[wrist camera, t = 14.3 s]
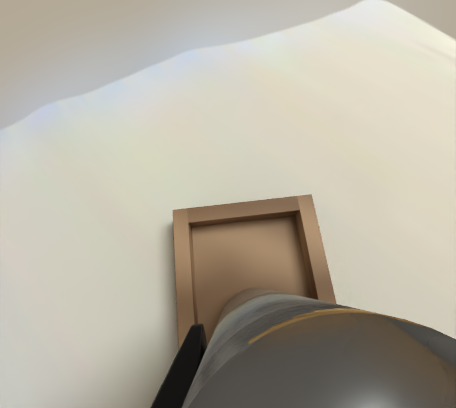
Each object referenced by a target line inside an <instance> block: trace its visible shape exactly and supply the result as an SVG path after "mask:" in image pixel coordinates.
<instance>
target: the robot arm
mask: <svg viewBox="0 0 456 408" xmlns="http://www.w3.org/2000/svg"><path fill="white" fill-rule="evenodd" d="M347 307H348V306H347ZM206 349H207V339H206V334H205V329H204V325H203V324H193V325H192V326H191V327H190V329H189V331H188V333H187V335H186V337H185V339H184V341H183V343H182V345H181V347H180V349H179V351H178V353H177V355H176V357H175V359H174V361H173V363H172V365H171V367H170V369H169V371H168V373H167V375H166V377H165V379H164V381H163V384H162V386H161V388H160V390H159V392H158V394H157V396H156V398H155V400H154V402H153V404H152V406H151V408H182V406H183V404H184V401H185V399H186V396H187V394H188V392H189V389H190V387H191V385H192V382H193V380H194V377H195V375H196V373H197V370H198V368H199V366H200V363H201V361H202V358H203V356H204V354H205V351H206Z"/></svg>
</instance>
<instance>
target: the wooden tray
mask: <svg viewBox="0 0 456 408" xmlns="http://www.w3.org/2000/svg"><path fill="white" fill-rule="evenodd" d="M173 228H174V251H175V274H176V297H177V320H178V343H179V349H180V347H181V345H182V343H183V341H184V339H185V337H186V335H187V333H188V331H189V329H190V327H191V326H192V325H193V324H203V325H204V329H205V334H206V339H207V347H208V344H209V342H210V339H211V337H212V335H213V332H214V330H215V328H216V325H217V323H218V320H219V318H220V316H221V313H222V311H223V309H224V307H225V305H226V304H227V303H228V301H229V300H230V299H231V298H232V297H233V296H234V295H236V294H237V293H239V292H241V291H243V290H245V289H249V288H255V287H259V288H266V289H271V290H275V291H280V292H284V293H289V294H293V295H298V296H302V297H306V298H311V299H315V300H320V301H324V302H329V303H333V304H336V300H335V296H334V291H333V287H332V282H331V278H330V274H329V269H328V265H327V260H326V256H325V252H324V247H323V243H322V238H321V234H320V230H319V225H318V221H317V216H316V212H315V208H314V203H313V199H312V194H311V195H302V196H293V197H285V198H276V199H267V200H258V201H249V202H240V203H231V204H222V205H213V206H204V207H196V208H187V209H178V210H173Z"/></svg>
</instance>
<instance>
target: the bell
mask: <svg viewBox="0 0 456 408" xmlns="http://www.w3.org/2000/svg"><path fill="white" fill-rule="evenodd" d="M182 408H456V339H454V338H451V337H449V336H447V335H445V334H443V333H441V332H439V331H436V330H434V329H432V328H429V327H426V326H423V325H420V324H417V323H414V322H411V321H408V320H405V319H400V318H396V317H391V316H387V315H382V314H378V313H373V312H369V311H364V310H360V309H356V308H351V307H347V306H342V305H338V304H333V303H329V302H324V301H320V300H315V299H311V298H306V297H302V296H298V295H293V294H289V293H284V292H280V291H275V290H271V289H266V288H259V287H255V288H249V289H245V290H243V291H241V292H239V293H237V294H236V295H234V296H233V297H232V298H231V299H230V300H229V301H228V303H227V304H226V305H225V307H224V309H223V311H222V313H221V316H220V318H219V320H218V323H217V325H216V328H215V330H214V332H213V335H212V337H211V339H210V342H209V344H208V347H207V349H206V351H205V354H204V356H203V358H202V361H201V363H200V366H199V368H198V370H197V373H196V375H195V377H194V380H193V382H192V385H191V387H190V389H189V392H188V394H187V396H186V399H185V401H184V404H183V406H182Z"/></svg>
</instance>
